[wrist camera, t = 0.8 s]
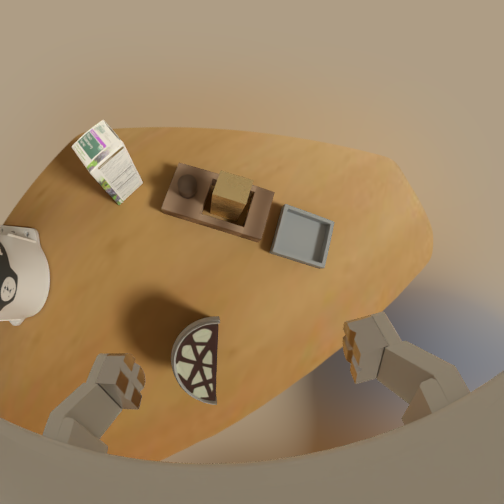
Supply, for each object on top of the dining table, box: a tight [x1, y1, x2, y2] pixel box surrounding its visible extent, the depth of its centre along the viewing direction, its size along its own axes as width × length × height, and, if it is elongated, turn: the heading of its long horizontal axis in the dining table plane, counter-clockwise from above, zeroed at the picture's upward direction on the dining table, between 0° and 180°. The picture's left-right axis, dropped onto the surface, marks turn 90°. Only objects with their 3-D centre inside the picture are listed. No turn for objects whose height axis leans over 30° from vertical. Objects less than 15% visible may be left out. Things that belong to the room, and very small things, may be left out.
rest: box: [270, 204, 334, 269], centre depth 45 cm, size 9×8×2 cm
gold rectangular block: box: [210, 170, 253, 221], centre depth 39 cm, size 4×4×10 cm
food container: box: [171, 316, 220, 405], centre depth 36 cm, size 12×6×10 cm, turn 177°
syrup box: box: [72, 120, 143, 205], centre depth 34 cm, size 6×6×14 cm
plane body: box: [161, 163, 274, 242], centre depth 41 cm, size 16×8×6 cm, turn 74°
